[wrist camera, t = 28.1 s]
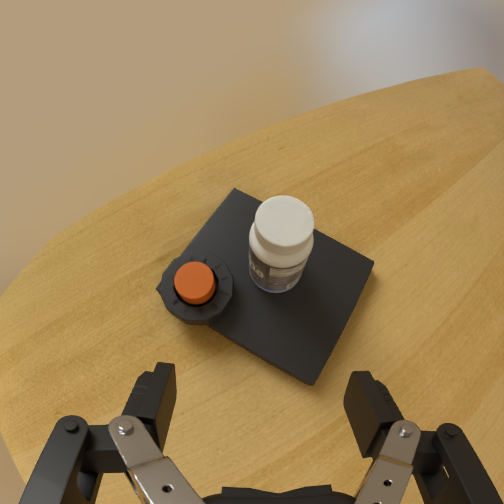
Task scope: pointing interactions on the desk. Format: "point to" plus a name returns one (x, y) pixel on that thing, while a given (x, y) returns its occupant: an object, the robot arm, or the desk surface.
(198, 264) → the button
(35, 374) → the desk surface
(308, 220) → the pill bottle
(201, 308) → the black flat block
